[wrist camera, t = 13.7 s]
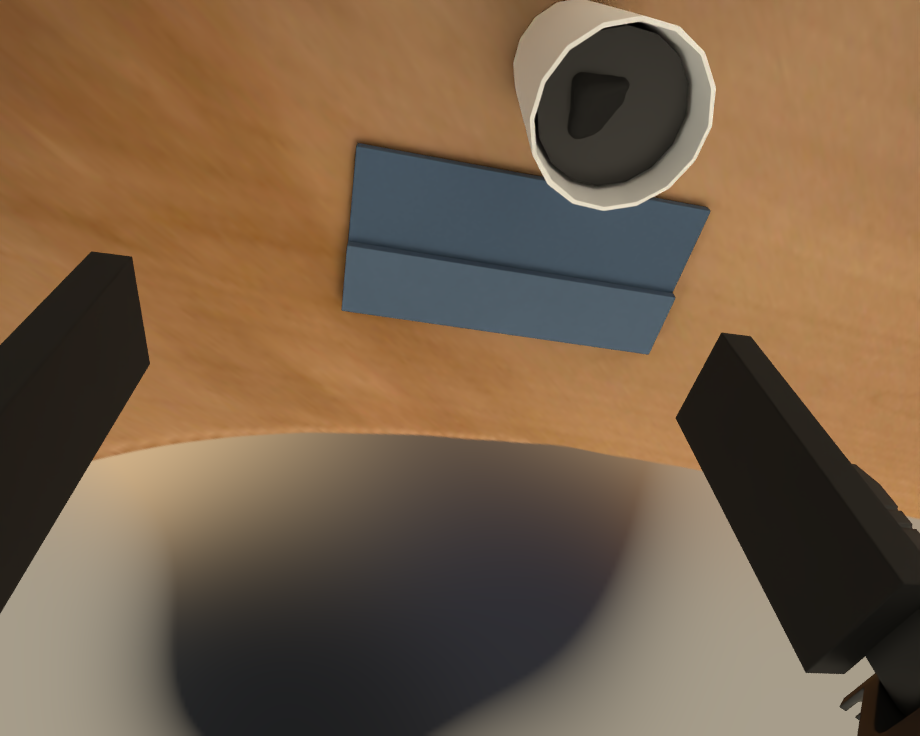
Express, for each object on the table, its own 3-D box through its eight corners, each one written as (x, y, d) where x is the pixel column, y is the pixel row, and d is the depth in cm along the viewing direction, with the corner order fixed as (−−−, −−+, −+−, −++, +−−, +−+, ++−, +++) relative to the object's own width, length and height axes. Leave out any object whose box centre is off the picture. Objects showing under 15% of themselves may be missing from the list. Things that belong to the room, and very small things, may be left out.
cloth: (343, 303, 37) (341, 313, 36) (357, 142, 31) (354, 149, 30) (642, 346, 40) (647, 357, 39) (707, 206, 34) (715, 215, 33)
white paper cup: (498, 133, 31) (519, 207, 23) (511, -18, 27) (542, 10, 19) (622, 138, 31) (685, 213, 23) (653, -10, 27) (742, 20, 19)
